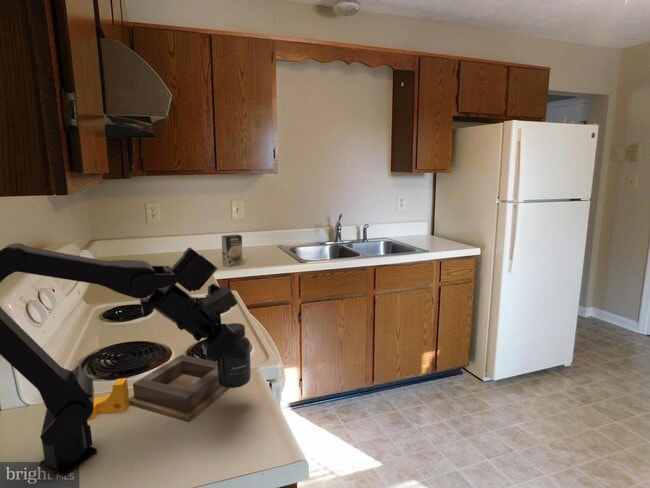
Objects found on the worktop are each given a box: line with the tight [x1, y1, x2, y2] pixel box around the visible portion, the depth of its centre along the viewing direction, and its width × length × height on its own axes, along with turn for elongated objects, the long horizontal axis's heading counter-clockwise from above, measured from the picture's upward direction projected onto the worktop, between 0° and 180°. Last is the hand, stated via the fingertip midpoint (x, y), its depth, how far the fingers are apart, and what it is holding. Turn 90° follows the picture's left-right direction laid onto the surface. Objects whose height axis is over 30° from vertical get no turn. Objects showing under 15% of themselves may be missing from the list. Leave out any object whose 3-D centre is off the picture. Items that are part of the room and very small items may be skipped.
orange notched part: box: [88, 377, 131, 420], centre depth 84 cm, size 12×4×6 cm, turn 97°
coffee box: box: [221, 234, 244, 268], centre depth 214 cm, size 9×6×16 cm
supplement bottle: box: [216, 322, 252, 389], centre depth 83 cm, size 7×7×12 cm
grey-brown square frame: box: [129, 354, 230, 423], centre depth 92 cm, size 17×17×4 cm
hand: (240, 350), depth 84 cm, fingers closed on supplement bottle, 7 cm apart
